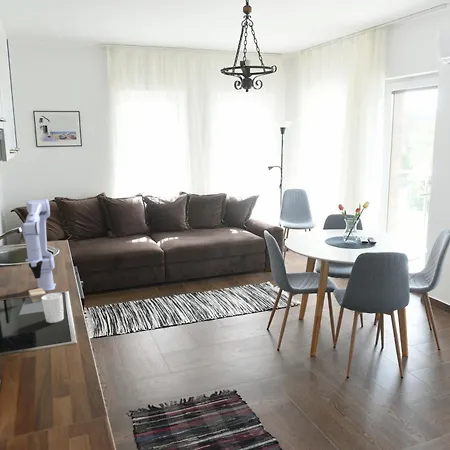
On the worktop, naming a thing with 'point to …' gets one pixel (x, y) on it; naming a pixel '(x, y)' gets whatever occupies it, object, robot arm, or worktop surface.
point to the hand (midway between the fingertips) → (37, 278)
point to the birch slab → (36, 294)
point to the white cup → (53, 307)
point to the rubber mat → (31, 307)
